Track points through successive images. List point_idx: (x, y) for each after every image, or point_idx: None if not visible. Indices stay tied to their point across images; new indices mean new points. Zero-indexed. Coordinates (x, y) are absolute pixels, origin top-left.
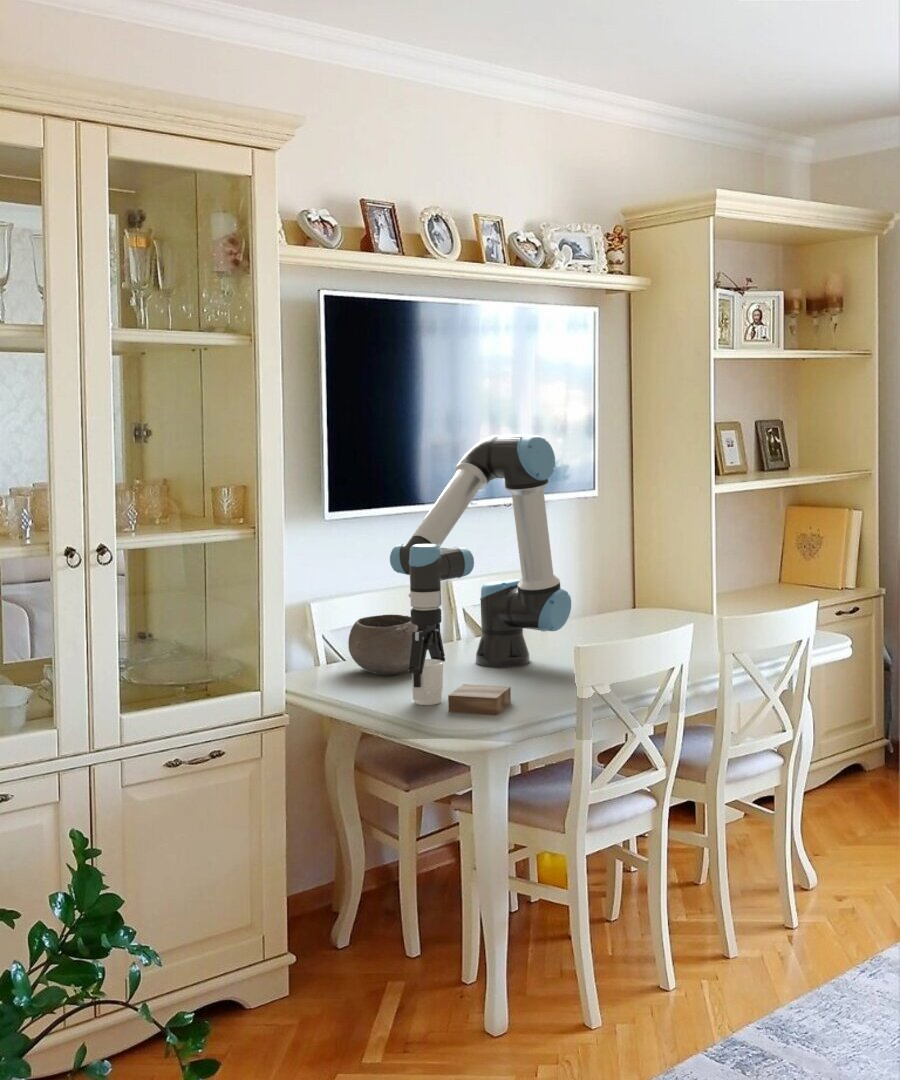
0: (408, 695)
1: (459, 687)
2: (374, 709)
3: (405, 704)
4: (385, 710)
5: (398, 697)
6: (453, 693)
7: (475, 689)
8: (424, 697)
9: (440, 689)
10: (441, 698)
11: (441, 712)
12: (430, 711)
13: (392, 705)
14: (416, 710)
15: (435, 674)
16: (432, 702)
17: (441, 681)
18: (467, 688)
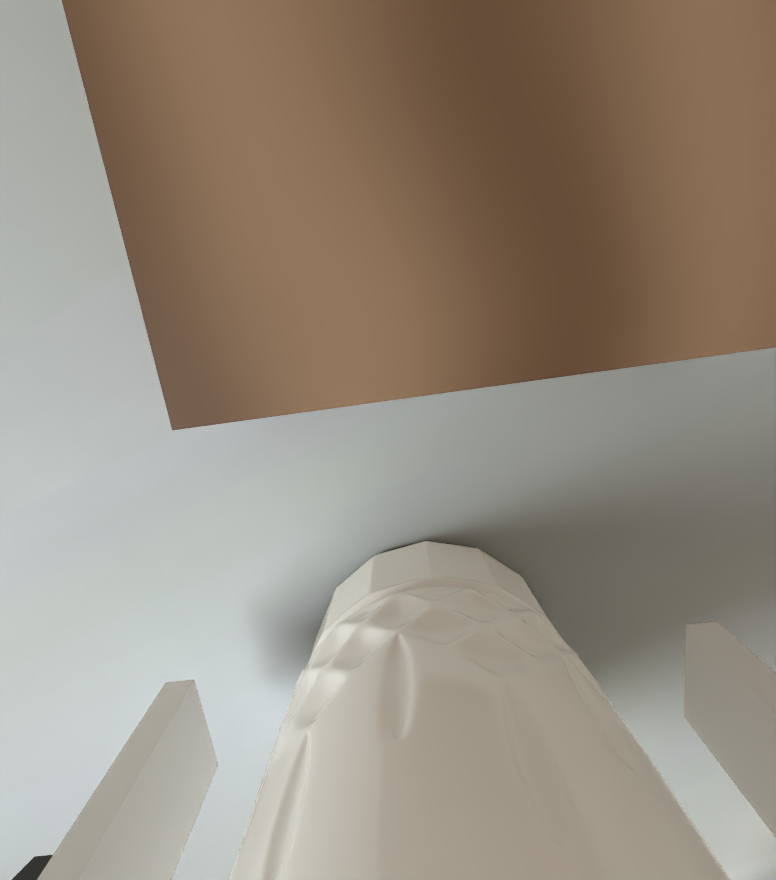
0: None
1: (370, 398)
2: (751, 865)
3: None
4: None
5: None
6: (745, 313)
7: (403, 92)
8: (705, 640)
9: (455, 605)
10: (394, 562)
11: (738, 388)
12: (723, 493)
13: None
14: (715, 608)
15: (662, 836)
16: (523, 581)
17: (457, 666)
18: (388, 255)
